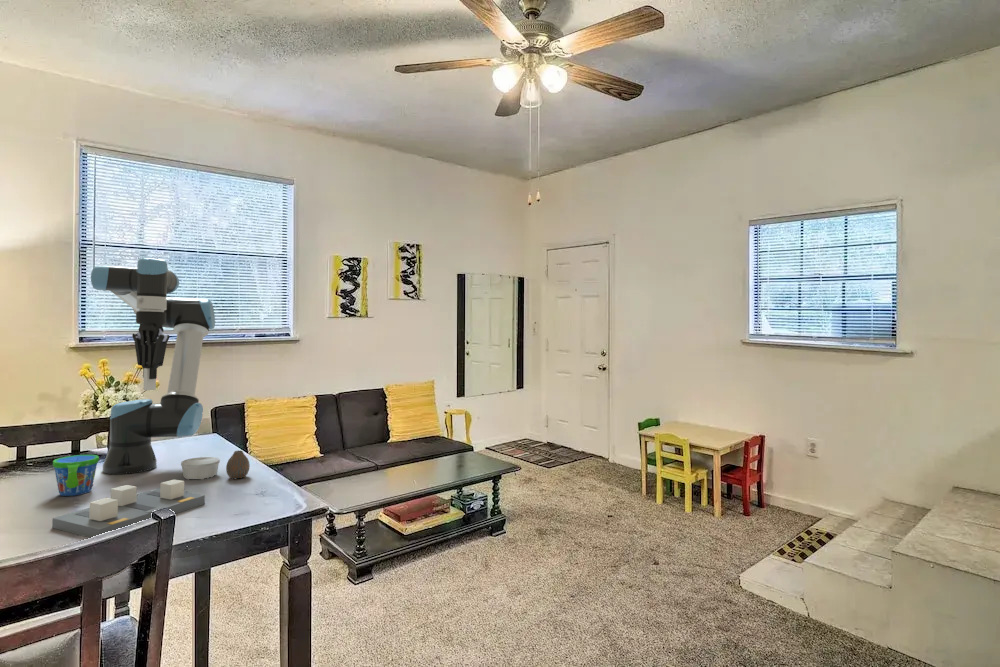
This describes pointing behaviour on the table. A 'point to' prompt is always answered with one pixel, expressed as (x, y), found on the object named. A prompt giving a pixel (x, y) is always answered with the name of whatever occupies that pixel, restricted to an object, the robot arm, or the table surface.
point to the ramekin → (200, 467)
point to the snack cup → (75, 474)
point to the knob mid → (124, 494)
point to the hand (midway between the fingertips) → (149, 389)
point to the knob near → (103, 509)
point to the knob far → (172, 489)
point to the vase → (237, 465)
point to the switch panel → (125, 513)
